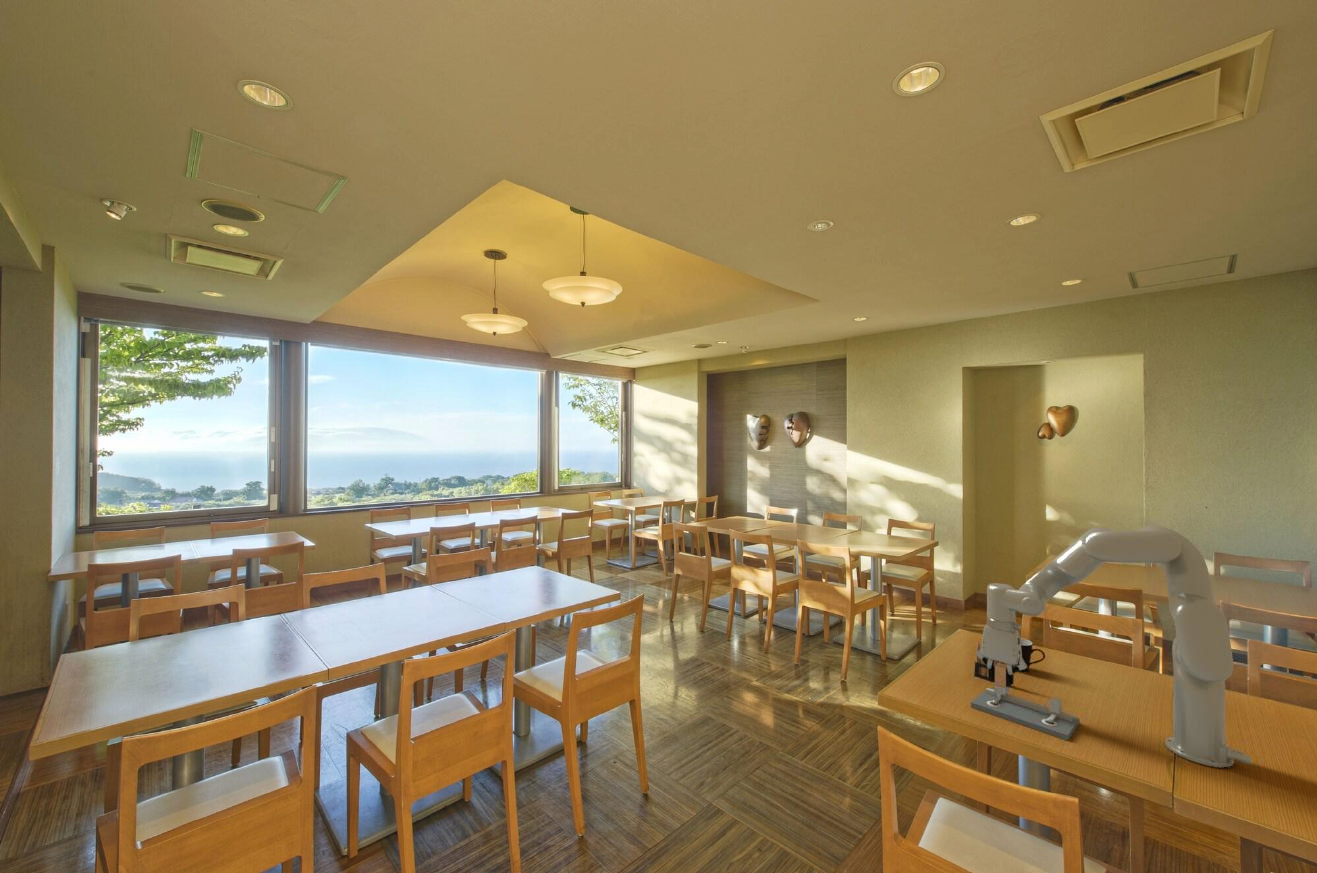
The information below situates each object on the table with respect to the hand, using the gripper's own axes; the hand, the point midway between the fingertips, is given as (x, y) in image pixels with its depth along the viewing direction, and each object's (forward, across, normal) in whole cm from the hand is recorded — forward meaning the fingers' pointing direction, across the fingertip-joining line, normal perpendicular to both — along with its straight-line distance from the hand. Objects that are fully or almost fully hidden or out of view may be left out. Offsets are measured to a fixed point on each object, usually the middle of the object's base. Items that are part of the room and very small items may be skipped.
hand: (1000, 682), depth 167 cm
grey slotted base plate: (+6, -7, +4) cm, 10 cm away
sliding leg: (+5, 0, +3) cm, 5 cm away
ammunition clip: (+6, +7, -16) cm, 18 cm away
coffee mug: (+6, +3, -34) cm, 34 cm away
